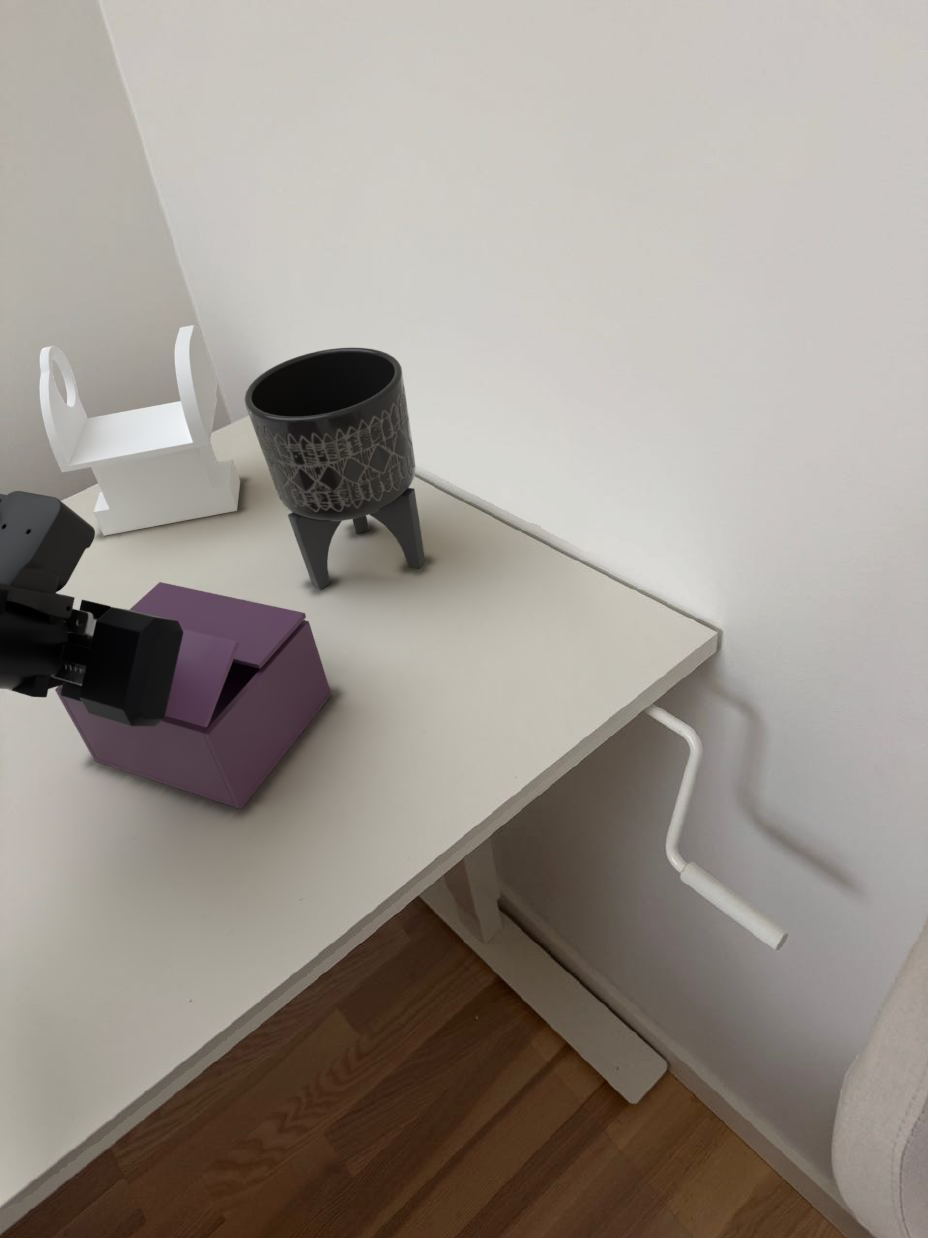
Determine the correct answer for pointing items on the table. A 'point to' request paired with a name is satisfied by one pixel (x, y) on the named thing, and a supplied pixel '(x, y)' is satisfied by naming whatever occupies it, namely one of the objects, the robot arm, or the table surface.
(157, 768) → the box
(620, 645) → the table surface
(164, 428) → the tape dispenser
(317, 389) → the planter
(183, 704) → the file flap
